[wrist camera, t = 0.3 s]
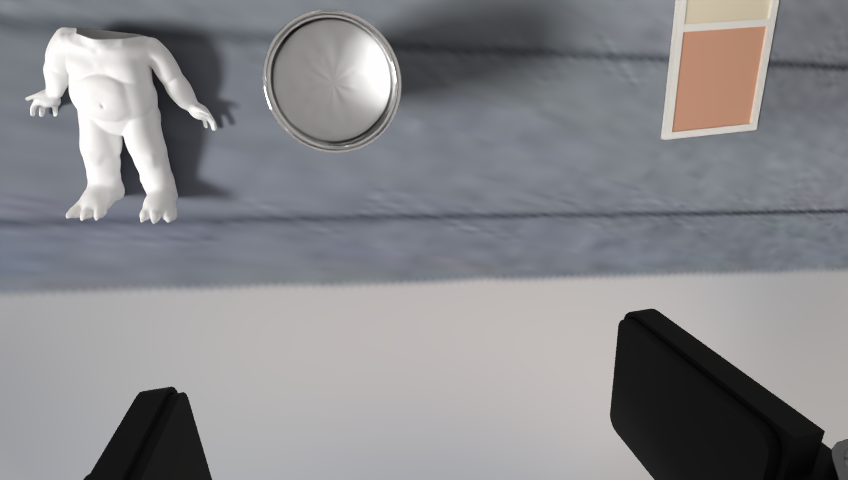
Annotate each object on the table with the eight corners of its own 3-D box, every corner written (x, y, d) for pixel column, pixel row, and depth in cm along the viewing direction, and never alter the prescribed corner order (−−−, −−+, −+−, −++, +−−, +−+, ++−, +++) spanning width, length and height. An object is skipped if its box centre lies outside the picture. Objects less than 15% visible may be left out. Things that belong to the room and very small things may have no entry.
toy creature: (19, 222, 31) (-49, 31, 25) (62, 183, 36) (14, 16, 30) (210, 229, 34) (191, 58, 28) (226, 191, 39) (213, 39, 33)
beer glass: (395, 86, 37) (434, 92, 23) (330, 144, 38) (332, 185, 24) (333, 10, 34) (336, -33, 21) (265, 74, 35) (224, 75, 21)
